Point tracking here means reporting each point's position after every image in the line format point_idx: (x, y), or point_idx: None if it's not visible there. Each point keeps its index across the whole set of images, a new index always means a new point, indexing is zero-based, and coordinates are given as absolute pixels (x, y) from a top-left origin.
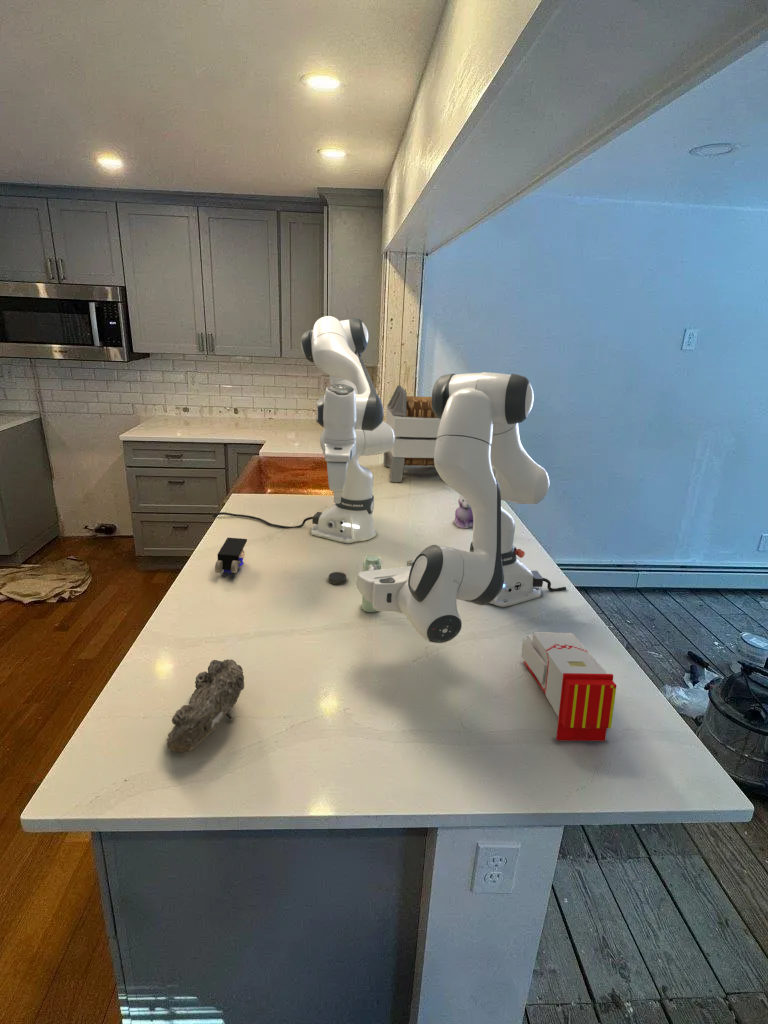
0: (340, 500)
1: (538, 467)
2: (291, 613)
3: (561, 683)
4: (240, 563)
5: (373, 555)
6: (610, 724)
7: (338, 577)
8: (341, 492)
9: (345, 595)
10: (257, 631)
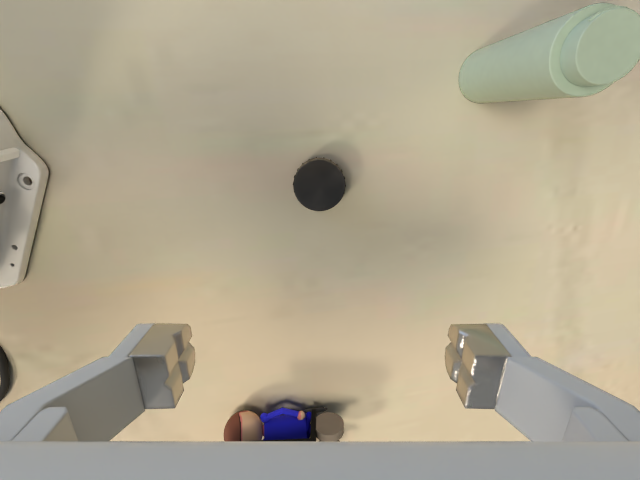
0: (511, 335)
1: None
2: (490, 274)
3: None
4: (288, 414)
5: (583, 42)
6: None
7: (330, 182)
8: (190, 328)
9: (406, 154)
10: (554, 325)
